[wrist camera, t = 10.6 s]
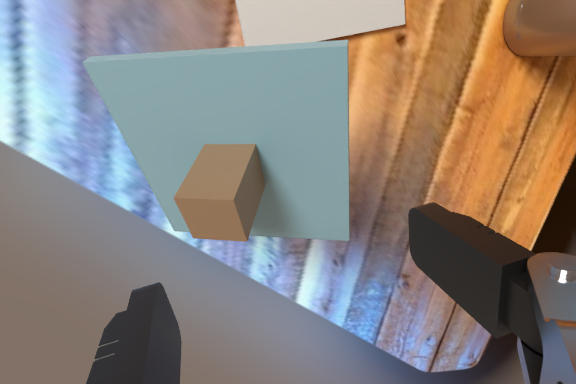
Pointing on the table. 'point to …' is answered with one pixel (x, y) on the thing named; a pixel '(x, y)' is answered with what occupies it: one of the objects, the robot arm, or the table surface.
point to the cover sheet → (238, 136)
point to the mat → (314, 19)
